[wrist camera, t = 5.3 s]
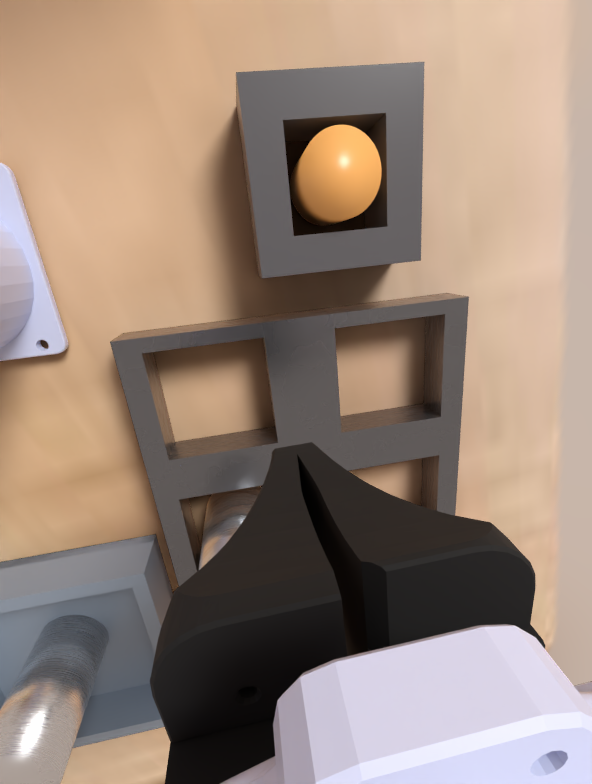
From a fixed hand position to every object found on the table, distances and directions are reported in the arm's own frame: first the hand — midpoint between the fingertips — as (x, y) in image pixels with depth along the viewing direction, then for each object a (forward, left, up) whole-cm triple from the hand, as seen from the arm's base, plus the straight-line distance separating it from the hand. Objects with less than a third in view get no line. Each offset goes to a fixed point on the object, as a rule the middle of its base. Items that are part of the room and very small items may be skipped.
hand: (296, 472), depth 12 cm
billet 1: (-15, -15, -8) cm, 22 cm away
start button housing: (+3, +9, -9) cm, 13 cm away
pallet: (+1, -4, -9) cm, 10 cm away
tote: (-15, -15, -9) cm, 23 cm away
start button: (+4, +9, -9) cm, 13 cm away
